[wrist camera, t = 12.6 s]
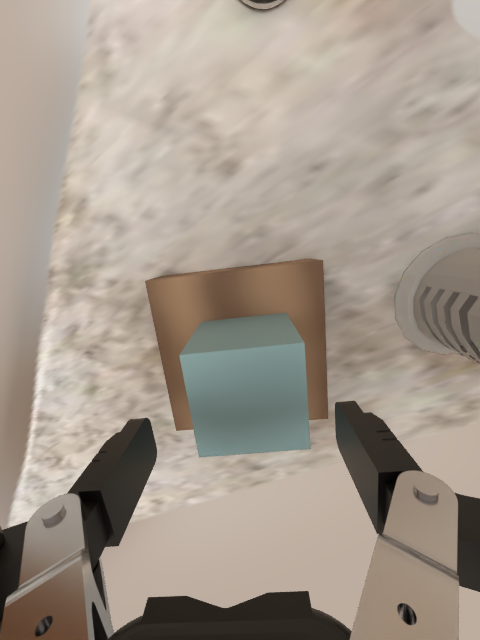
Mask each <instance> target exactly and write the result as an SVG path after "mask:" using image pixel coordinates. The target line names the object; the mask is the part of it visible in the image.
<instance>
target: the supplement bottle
mask: <svg viewBox="0 0 480 640" xmlns="http://www.w3.org/2000/svg"><path fill="white" fill-rule="evenodd" d="M242 1H243V2H244V3H245V4H247V5H249V6H251V7H254V8H257V9H269V8H272V7H275V6H277V5H279V4H280V3H282V2H283V1H284V0H242Z"/></svg>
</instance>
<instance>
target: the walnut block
mask: <svg viewBox="0 0 480 640" xmlns="http://www.w3.org/2000/svg"><path fill="white" fill-rule="evenodd" d="M145 283H146V288H147V292H148V297H149V302H150V307H151V311H152V316H153V321H154V326H155V331H156V335H157V340H158V345H159V350H160V355H161V359H162V364H163V369H164V374H165V379H166V383H167V388H168V393H169V398H170V402H171V407H172V412H173V417H174V422H175V426H176V431H178V430H191V429H193V424H192V418H191V413H190V408H189V403H188V398H187V393H186V387H185V382H184V377H183V372H182V367H181V362H180V356H179V355H180V353H181V352H182V350H183V349H184V347H185V346H186V344H187V343H188V341H189V339H190V338H191V336H192V335H193V333H194V332H195V330H196V329H197V327H198V326H199V324H200V323H201V322H203V321H213V320H222V319H231V318H240V317H250V316H259V315H268V314H277V313H287V315H288V316H289V318H290V320H291V321H292V323H293V325H294V326H295V328H296V329H297V331H298V333H299V334H300V336H301V338H302V339H303V341H304V344H305V361H306V378H307V395H308V413H309V420H316V419H328V397H327V367H326V337H325V307H324V277H323V260H316V259H304V260H295V261H287V262H278V263H270V264H261V265H253V266H244V267H235V268H227V269H218V270H210V271H201V272H192V273H184V274H175V275H167V276H160V277H157V278H154V279H150V280H147V281H145Z"/></svg>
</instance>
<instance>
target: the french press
mask: <svg viewBox="0 0 480 640" xmlns="http://www.w3.org/2000/svg"><path fill="white" fill-rule="evenodd" d="M395 318H396V320H397V322H398V324H399V326H400V328H401V330H402V332H403V334H404V336H405V338H407V339H408V340H409V341H411V342H412V343H413V344H415V345H416V346H417V347H419V348H420V349H421V350H425V351H430V352H434V353H439V354H450V353H458V354H460V355H462V356H465V357H467V358H468V359H470V360H472V361H474V362H476V363H479V364H480V234H475V233H469V234H464V235H458V236H452V237H446V238H445V239H443V240H441V241H439V242H438V243H436V244H434V245H432V246H431V247H429V248H427V249H425V250H424V251H422V252H421V253H420V254H419V256H418V257H417V258H416V259H415V260H414V261H413V262H412V264H411V265H410V266H409V267H408V268H407V269H406V270H405V272H404V274H403V276H402V279H401V281H400V284H399V286H398V289H397V292H396V294H395ZM467 352H468V353H469V354H470V355H467V354H466V353H467ZM461 353H462V354H461ZM474 359H476V360H477V361H475V360H474ZM478 361H479V362H478Z"/></svg>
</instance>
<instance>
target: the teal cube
mask: <svg viewBox="0 0 480 640" xmlns="http://www.w3.org/2000/svg"><path fill="white" fill-rule="evenodd" d="M179 356H180V362H181V367H182V372H183V377H184V382H185V387H186V393H187V398H188V403H189V408H190V413H191V418H192V424H193V429H194V434H195V439H196V444H197V449H198V455H199V457H211V456H224V455H237V454H250V453H264V452H277V451H290V450H303V449H311V447H310V430H309V413H308V395H307V378H306V361H305V344H304V341H303V339H302V338H301V336H300V334H299V333H298V331H297V329H296V328H295V326H294V325H293V323H292V321H291V320H290V318H289V316H288V315H287V313H277V314H268V315H259V316H250V317H240V318H231V319H222V320H213V321H203V322H201V323H200V324H199V326H198V327H197V329H196V330H195V332H194V333H193V335H192V336H191V338H190V339H189V341H188V343H187V344H186V346H185V347H184V349H183V350H182V352H181V353H180V355H179Z"/></svg>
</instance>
